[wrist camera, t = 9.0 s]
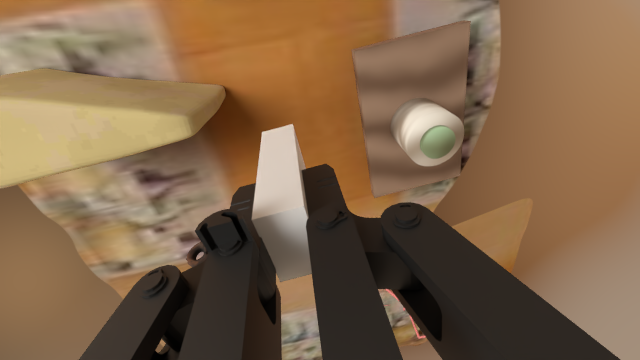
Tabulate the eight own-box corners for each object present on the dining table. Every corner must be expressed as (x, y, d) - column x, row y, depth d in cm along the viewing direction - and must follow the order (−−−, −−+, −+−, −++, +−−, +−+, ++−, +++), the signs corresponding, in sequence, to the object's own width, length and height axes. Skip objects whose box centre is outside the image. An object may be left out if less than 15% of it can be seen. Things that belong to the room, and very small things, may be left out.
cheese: (217, 53, 38) (187, 75, 25) (233, 123, 43) (214, 172, 30) (38, 65, 36) (-96, 95, 23) (76, 137, 41) (-16, 195, 28)
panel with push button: (351, 49, 34) (370, 61, 27) (463, 20, 34) (511, 25, 27) (371, 192, 46) (389, 226, 39) (455, 171, 46) (486, 201, 39)
